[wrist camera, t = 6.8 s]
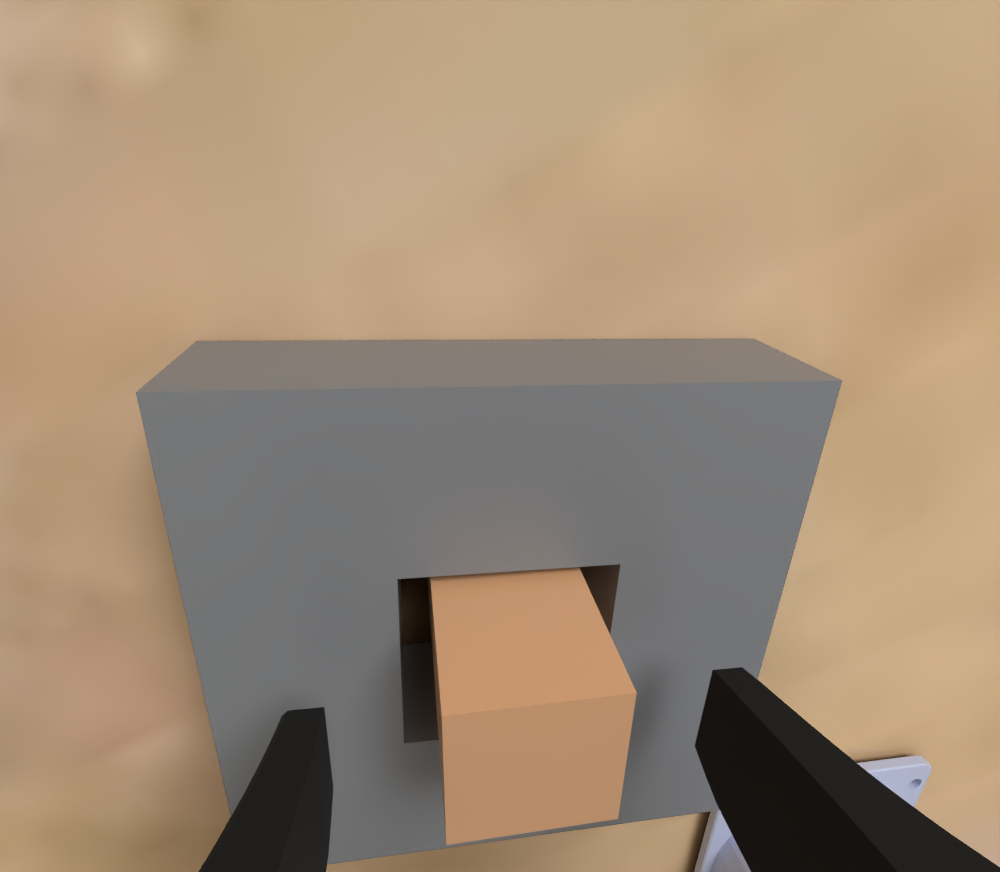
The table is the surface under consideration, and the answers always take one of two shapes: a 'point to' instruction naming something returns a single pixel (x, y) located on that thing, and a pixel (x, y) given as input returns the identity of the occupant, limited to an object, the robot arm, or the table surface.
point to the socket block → (473, 535)
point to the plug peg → (526, 703)
